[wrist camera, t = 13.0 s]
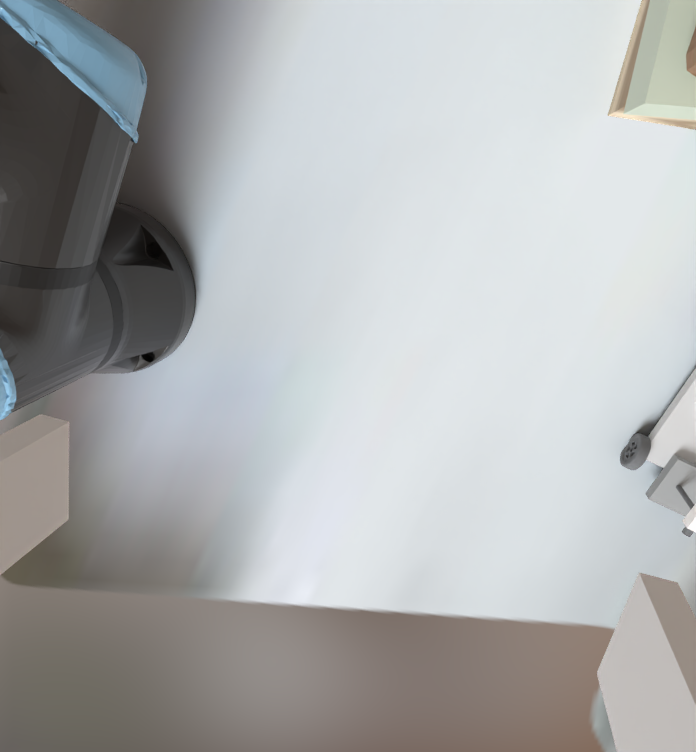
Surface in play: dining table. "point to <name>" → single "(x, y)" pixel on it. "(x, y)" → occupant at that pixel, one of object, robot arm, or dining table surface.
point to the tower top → (664, 63)
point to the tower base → (626, 76)
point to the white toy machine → (671, 455)
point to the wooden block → (691, 55)
